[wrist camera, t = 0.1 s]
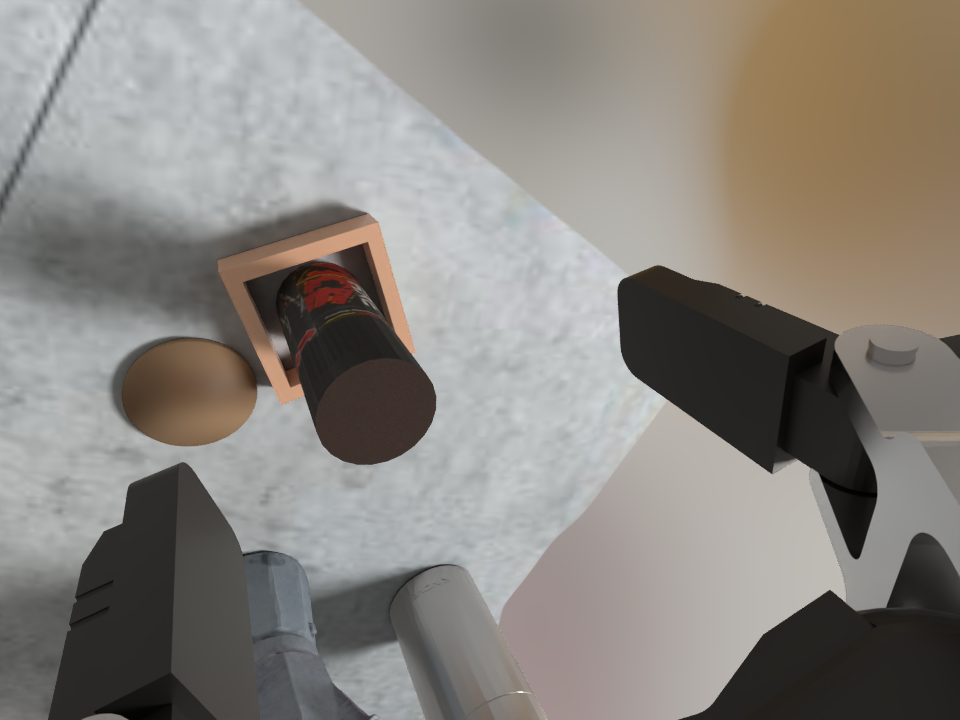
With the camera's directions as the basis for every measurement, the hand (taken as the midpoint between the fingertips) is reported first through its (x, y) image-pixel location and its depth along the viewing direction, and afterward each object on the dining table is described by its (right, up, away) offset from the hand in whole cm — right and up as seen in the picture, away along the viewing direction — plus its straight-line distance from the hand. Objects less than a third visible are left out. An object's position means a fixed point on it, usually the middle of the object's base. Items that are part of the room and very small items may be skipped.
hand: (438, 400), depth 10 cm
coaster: (-19, -1, +27) cm, 33 cm away
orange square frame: (-10, +5, +29) cm, 31 cm away
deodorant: (-11, +5, +29) cm, 31 cm away
